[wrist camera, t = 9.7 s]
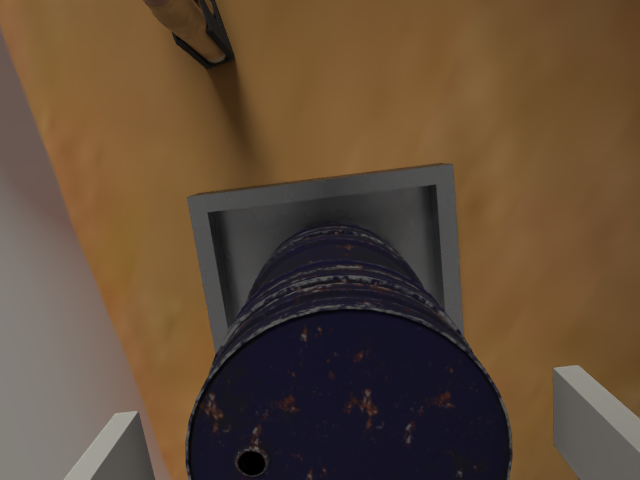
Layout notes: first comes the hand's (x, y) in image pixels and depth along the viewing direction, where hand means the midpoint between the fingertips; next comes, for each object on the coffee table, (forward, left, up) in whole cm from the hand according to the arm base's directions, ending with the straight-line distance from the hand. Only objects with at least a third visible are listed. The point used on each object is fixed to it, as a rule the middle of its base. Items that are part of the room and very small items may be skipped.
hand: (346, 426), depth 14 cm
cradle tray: (0, 0, -15) cm, 15 cm away
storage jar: (0, 0, -14) cm, 14 cm away
